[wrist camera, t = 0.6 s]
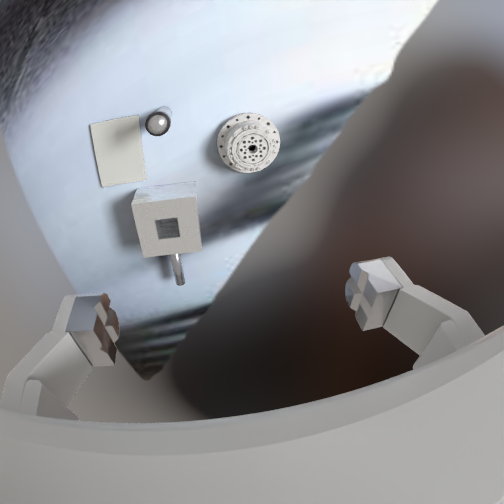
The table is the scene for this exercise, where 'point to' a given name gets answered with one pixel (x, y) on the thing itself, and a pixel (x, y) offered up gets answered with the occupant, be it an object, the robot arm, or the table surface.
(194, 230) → the block
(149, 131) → the grey capped cylinder
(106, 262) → the table surface
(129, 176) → the mat
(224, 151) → the mechanical component
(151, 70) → the table surface
